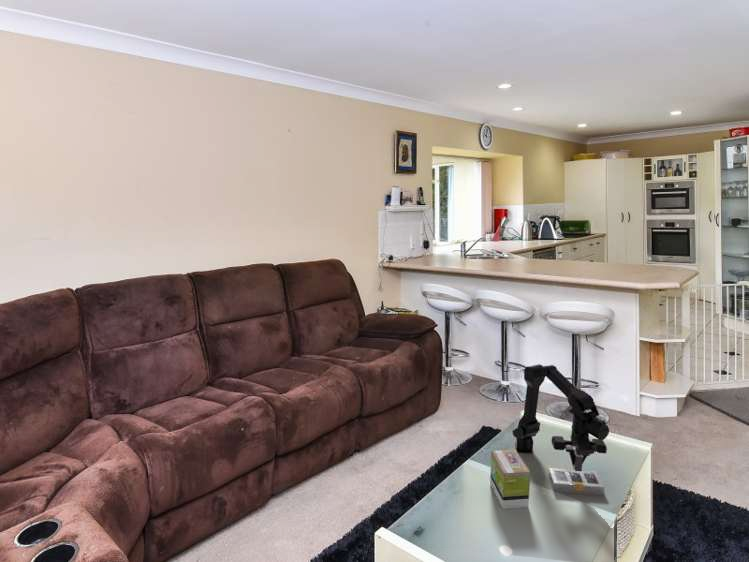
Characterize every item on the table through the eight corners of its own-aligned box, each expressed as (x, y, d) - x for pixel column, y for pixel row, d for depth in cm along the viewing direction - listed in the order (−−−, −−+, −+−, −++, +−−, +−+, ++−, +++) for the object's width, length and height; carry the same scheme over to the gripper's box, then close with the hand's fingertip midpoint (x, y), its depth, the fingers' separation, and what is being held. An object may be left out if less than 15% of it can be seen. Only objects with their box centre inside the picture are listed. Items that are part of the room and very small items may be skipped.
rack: (553, 491, 189) (554, 483, 188) (548, 475, 199) (548, 467, 198) (603, 496, 186) (604, 487, 186) (596, 479, 196) (596, 471, 196)
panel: (574, 470, 189) (576, 456, 188) (571, 463, 194) (572, 449, 193) (581, 471, 189) (583, 457, 187) (578, 463, 194) (579, 449, 192)
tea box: (488, 484, 194) (490, 449, 191) (514, 482, 195) (516, 448, 192) (501, 509, 179) (504, 472, 176) (529, 508, 180) (531, 471, 177)
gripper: (558, 436, 181) (555, 474, 185) (613, 440, 179) (609, 479, 182) (552, 421, 192) (549, 458, 195) (604, 424, 189) (600, 462, 193)
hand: (576, 464), depth 191 cm, fingers closed on panel, 2 cm apart
